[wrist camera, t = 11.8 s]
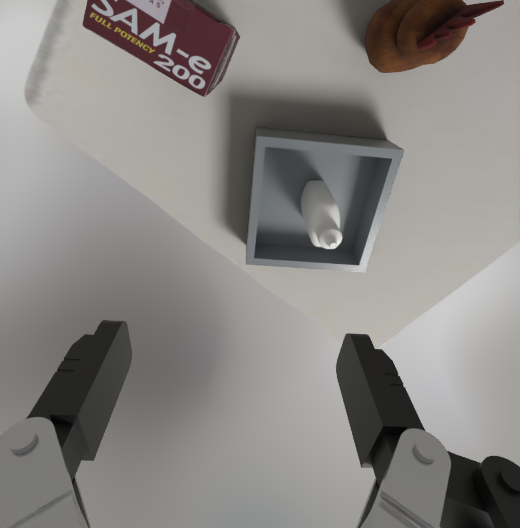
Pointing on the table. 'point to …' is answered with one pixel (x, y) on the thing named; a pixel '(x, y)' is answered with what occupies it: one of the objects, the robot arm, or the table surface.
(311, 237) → the eye dropper bottle
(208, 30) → the supplement box
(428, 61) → the wooden figurine
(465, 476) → the robot arm
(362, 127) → the table surface
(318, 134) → the box
